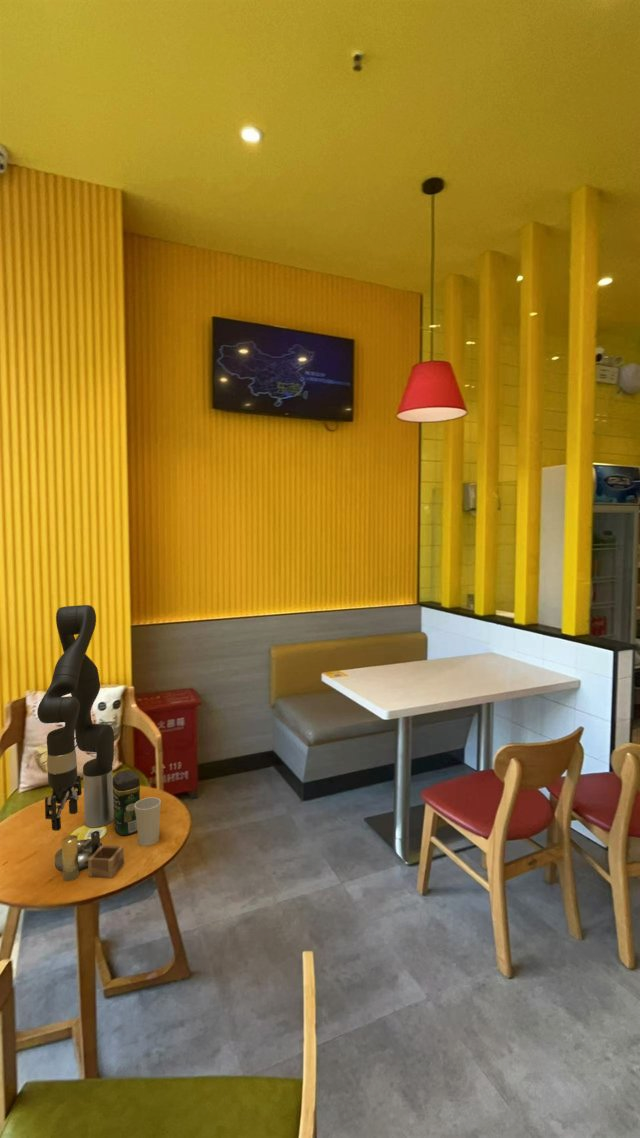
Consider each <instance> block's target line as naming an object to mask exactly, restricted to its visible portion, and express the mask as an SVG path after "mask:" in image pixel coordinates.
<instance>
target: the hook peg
mask: <svg viewBox="0 0 640 1138" xmlns="http://www.w3.org/2000/svg"><path fill="white" fill-rule="evenodd" d="M78 840H79V839H78V835H75V834H71V835H68V836H65V837H63V838H62V839H61V848H62V861H63V870H62V879H63V881H64V882H72V881H74V880H76V879H77V878H79V876H80V872H79V871H80V870H79V868H78Z"/></svg>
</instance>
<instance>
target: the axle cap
mask: <svg viewBox="0 0 640 1138" xmlns="http://www.w3.org/2000/svg"><path fill="white" fill-rule="evenodd" d="M77 840H78V851H81V850H83V849H84V848H85V844H84V839H77Z"/></svg>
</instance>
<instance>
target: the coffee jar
mask: <svg viewBox="0 0 640 1138" xmlns="http://www.w3.org/2000/svg"><path fill="white" fill-rule="evenodd" d="M140 789H141V782H140V777H139V775H138V774H137V773H136V772H135V771H133V770H130V769H125V770H121V771H118V772H116V773H115V774H114V776H113V805H114V819H113V826H114V830H115V831H116V832H117V834H118V835H120V836H127V835H128V836H129V835H131V834H134V833H136V832H138V831H137V822H136V815H135V807H134V805H135V803H136V802H137V801H139V800H141V798H140V797H141V791H140Z"/></svg>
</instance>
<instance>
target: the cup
mask: <svg viewBox="0 0 640 1138" xmlns="http://www.w3.org/2000/svg"><path fill="white" fill-rule="evenodd" d="M161 802H162V800H161V799H160V798H158V797H154V796H153V797H151V796H150V797H145V798H142V799H141V798H140V800H139V801H137V802H136V803H135V805H134V807H135V815H136V822H137V831H136V832H137V837H138V838H137V842H138V844H139V845H141V846H143V847H148V846H152V845H155V844H156V843H158V842H159V840H160V826H161V825H160V821H161V806H162V803H161Z"/></svg>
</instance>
